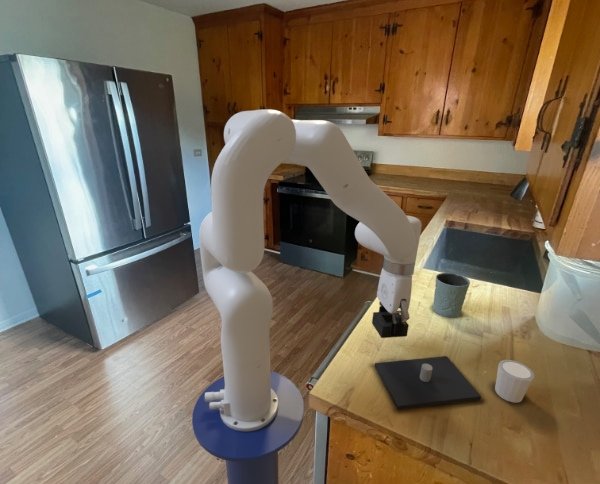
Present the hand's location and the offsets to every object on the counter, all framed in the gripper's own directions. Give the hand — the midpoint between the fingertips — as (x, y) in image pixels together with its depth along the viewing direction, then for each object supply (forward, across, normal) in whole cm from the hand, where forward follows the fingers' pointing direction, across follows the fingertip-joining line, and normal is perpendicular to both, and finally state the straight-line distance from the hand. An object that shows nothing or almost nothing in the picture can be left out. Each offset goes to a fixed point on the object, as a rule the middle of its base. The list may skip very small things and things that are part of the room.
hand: (389, 326), depth 88 cm
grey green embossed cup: (+7, -17, +29) cm, 34 cm away
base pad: (+8, +13, +5) cm, 16 cm away
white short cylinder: (+8, +19, +23) cm, 30 cm away
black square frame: (+1, 0, 0) cm, 1 cm away
